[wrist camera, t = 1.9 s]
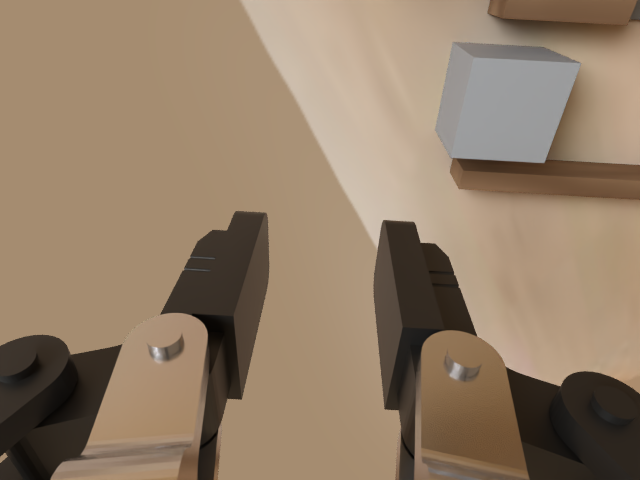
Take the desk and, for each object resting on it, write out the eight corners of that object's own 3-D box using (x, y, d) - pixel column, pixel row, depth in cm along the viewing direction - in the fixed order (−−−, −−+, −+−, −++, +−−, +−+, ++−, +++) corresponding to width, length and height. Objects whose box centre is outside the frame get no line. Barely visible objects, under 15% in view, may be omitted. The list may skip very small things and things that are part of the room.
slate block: (452, 41, 23) (473, 57, 19) (542, 46, 23) (581, 63, 19) (434, 129, 26) (450, 157, 22) (515, 133, 26) (544, 163, 22)
